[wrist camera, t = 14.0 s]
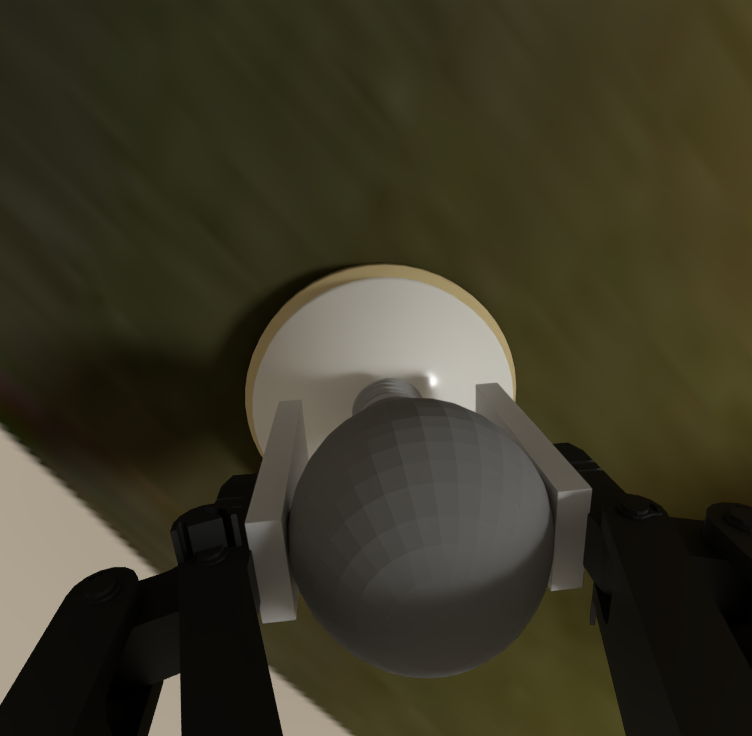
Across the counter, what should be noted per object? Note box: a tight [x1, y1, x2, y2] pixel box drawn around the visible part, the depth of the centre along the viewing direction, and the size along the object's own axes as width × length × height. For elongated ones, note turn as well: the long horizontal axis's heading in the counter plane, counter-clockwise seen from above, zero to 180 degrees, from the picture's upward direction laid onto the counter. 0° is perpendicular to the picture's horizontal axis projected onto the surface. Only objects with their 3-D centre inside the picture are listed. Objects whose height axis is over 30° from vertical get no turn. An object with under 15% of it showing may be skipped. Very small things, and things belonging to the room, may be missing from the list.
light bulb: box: [288, 378, 554, 678], centre depth 13 cm, size 6×6×10 cm
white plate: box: [245, 263, 516, 460], centre depth 19 cm, size 11×11×2 cm
